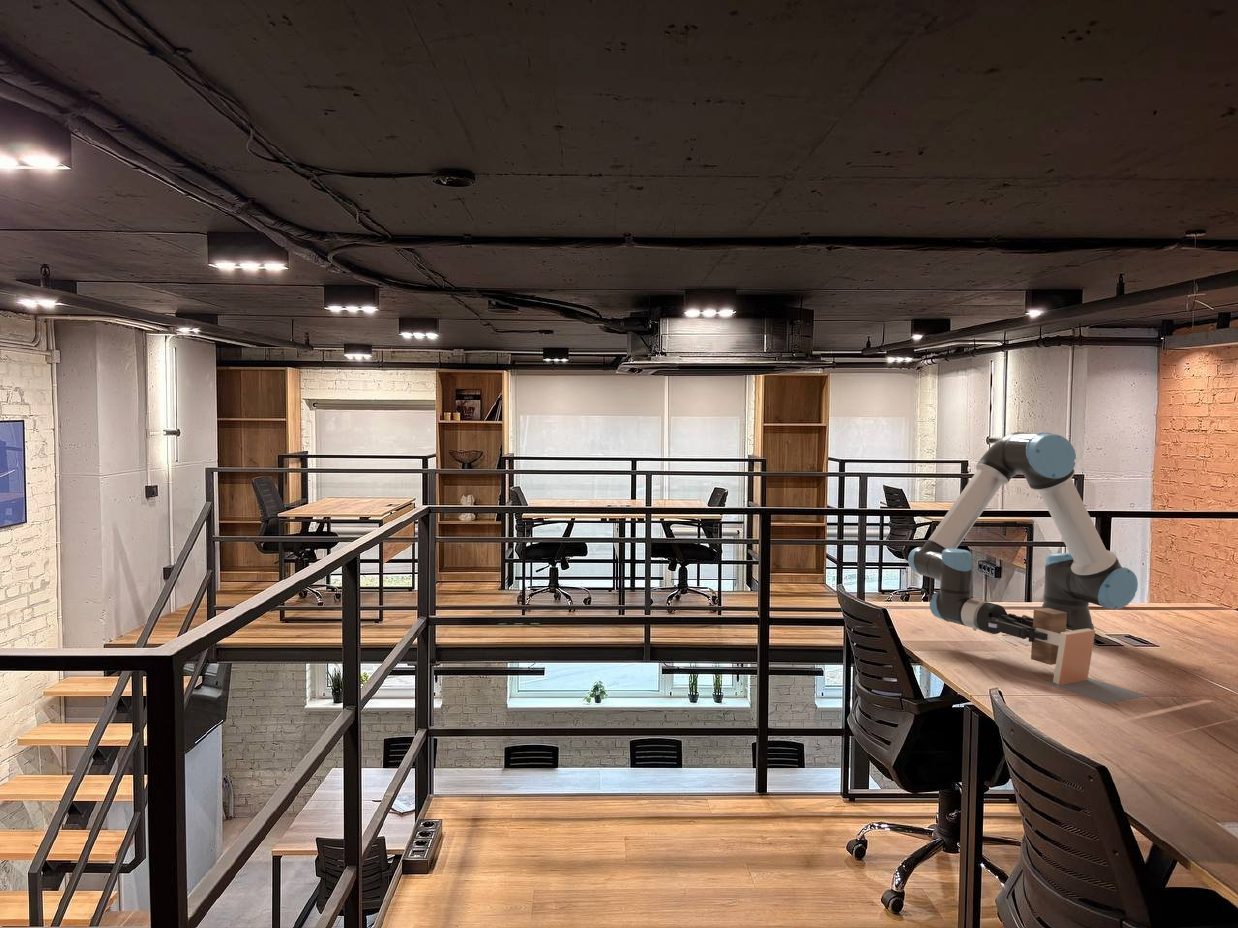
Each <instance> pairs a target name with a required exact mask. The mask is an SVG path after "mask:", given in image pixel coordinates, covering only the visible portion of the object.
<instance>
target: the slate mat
mask: <svg viewBox="0 0 1238 928" xmlns="http://www.w3.org/2000/svg"><path fill="white" fill-rule="evenodd" d="M1044 684H1045V685H1048V686H1051V687H1055V688H1058V689H1060V690H1064V691H1067V692H1070V693H1073V694H1075V695H1079V696H1082V697H1085V698H1089V699H1091V700H1095V701H1098V702H1101V703H1104V704H1108V705H1111V704H1114V703H1119V702H1125V701H1128V700H1129V701H1130V700H1133V699H1134V700H1135V699H1138V698H1142V697H1147V696H1148V695H1147V694H1143V693H1141V692H1137V691H1133V690H1130V689H1127V688H1124V687H1121V686H1117V685H1115V684H1114V685H1113V684H1110V683H1107V682H1104V681H1101V680H1097V679H1094V678H1091V677H1088V679H1087V680H1084V681H1079V682H1074V683H1068V684H1063V685H1058V684H1056V683H1054V682H1053V680H1051V681H1047V682H1044Z"/></svg>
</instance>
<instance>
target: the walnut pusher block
mask: <svg viewBox="0 0 1238 928" xmlns="http://www.w3.org/2000/svg"><path fill="white" fill-rule="evenodd" d="M1032 618H1033V628H1034V630H1035V631H1036V628H1040V629H1044V630H1048V631H1052V632H1056V633H1059V634H1061V632H1066V622H1067V612H1063V611H1059V610H1055V609H1051V608H1042V609H1041V608H1036V609H1035V608H1034V609H1033V617H1032ZM1058 647H1059V646H1057V645H1054V644H1050V643H1046V642H1043V641H1039V640H1036V639H1035V638H1034V642H1031V650H1030V651H1031V652H1030V654H1031V655H1030V659H1031V660H1033V661H1035V662H1039V663H1042V664H1046V665H1049V666H1051V665H1056V660H1057V654H1058Z"/></svg>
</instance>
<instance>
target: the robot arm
mask: <svg viewBox="0 0 1238 928" xmlns="http://www.w3.org/2000/svg"><path fill="white" fill-rule="evenodd" d="M1076 453H1077V452H1076V450H1075V447H1074V446H1073V445H1072V443H1071V441H1069V440H1068V439H1067V438H1066V437H1064V436H1062V435H1060V434H1056V433H1051V432H1038V433H1037V432H1021V431H1017V432H1011V433H1008V434H1006V435H1004V436H1003V437H1001V438H1000V439H998V440H997V441H996V442H995V443H994V444H992V446H990V448H989V449H988V450H986V452H984V454H983V455H982V457H981V458H980V459H979V461H978V462H977V463H976V465H975V468H976V469H975V470H976V472H974V474H973V476H972V477H971V478H970V480H969V481H968V483H967V484H966V485H965V487H964V489H962V491H961V493H960V494H959V495H958V497H957V498H956V500H955V501H954V503H953V504H952V505H951V506H950V508H949V509H948V511H947V512H946V514H945V515H944V517H943V518H942V519H941V521H940V522H939V524H938V525H937V526H936V528H935V529H934V531H933V532H932V534H931V535H930V537H929V538H928V539H927V541H925V544H924V545H923V546H918V547H915V548H914V549H912V550H911V551H910V552H909V555H908V556H907V557H908V558H907V563H908V565H909V567H910V569H911V570H912V571H913V572H915V573H918V574H919V575H921V576H923V577H928V578H932V579H934V580H937V581H940V583H939V585H940V588H939V590H938V591H936V592H934V593H933V594H932V596H931V599H930V600H929V610H930V612H931V614H932V615H933V616H934V617H935V618H938V619H940V620H944V621H945V622H947V623H948V622H949V623H954V624H956V625H960V626H961V625H962V626H964V627H968V628H972V630H973V631H982V632H983V633H984V632H985V633H989V634H992V635H998V634H1000V633H1001V634H1005V635H1008V636H1013V637H1016V638H1019V639H1022V640H1025V639H1028V642H1030V643H1032V642H1034V638H1035V639H1036V640H1039V641H1043V642H1046V643H1050V644H1054V645H1057V646H1059V641H1060V634H1059V633H1056V632H1052V631H1048V630H1044V629H1040V628H1036V631H1035V630H1034V628H1033V617H1030V616H1029V615H1024V614H1023V615H1022V616H1018V615H1016V614H1014V613H1007V611H1006V608H1005V607H1003V606H1002V605H1001V604H996V603H992V602H988V601H986V600H981V599H977V598H972V597H971V586H972V584H971V582H972V574H973V572H972V571H973V559H972V557H973V555H972V553H971V551H969V550H966V549H961V548H958V547H959V545H961V543H962V541H963V540H964V539H965V537H966V536H967V534H968V533H969V532H970V530H972V529H971V528H973V526H974V525H975V523H976V521H977V520H978V519H979V518H980V516H981V515H982V513H983V512H984V511H985V509H986V508H987V506H988V505H989V503H991V500H992V499H993V498H994V496H995V495H996V494H997V492H998V491H999V489H1000V488H1001V487H1002V486H1005V485H1007V484H1009V482H1010V481H1011V480H1012V479H1013V477H1015V476H1017V475H1021V476H1024V478H1025V479H1026V481H1027V484H1028V486H1029V487H1030V489H1031V490H1033V491H1038V492H1039V494H1040V496H1041V498H1042V500H1043V502H1044V505H1045V507H1046V508H1047V510H1048V513H1049V514H1050V516H1051V519H1052V520H1053V523H1054V524H1055V526H1056V528H1057V531H1058V532H1059V535H1060V537H1061V539H1062V541H1063V543H1064V545H1065V546H1066V549H1067V551H1068V552H1051V553H1049V554H1047V556H1046V561H1045V565H1044V589H1043V590H1044V591H1043V592H1044V593H1043V603H1042V606H1041V607H1040V609H1042V608H1051V609H1055V610H1059V611H1063V612H1067V622H1066V631H1073V630H1080V629H1087V628H1089V629H1092V630H1095V626H1094V623H1093V621H1092V616H1091V612H1090V609H1089V604H1094V605H1097V606H1099V607H1102V608H1105V609H1108V608H1109V609H1112V610H1116V609H1117V610H1118V609H1119V610H1120V609H1122V608H1124V607H1127V606H1129V604H1130V603H1131V602H1132V601H1133V600H1134V598H1135V597H1136V593H1137V591H1138V588H1139V583H1138V582H1139V581H1138V578H1137V575H1136V574H1135V572H1134V571H1133V570H1131V569H1130V568H1127V567H1123V566H1122V565H1121V563H1120V562H1119V559H1118V557H1117V555H1116V554H1115V553H1114V552H1113V551H1111V550H1108V549H1106V547H1105V545H1104V543H1103V540H1102V538H1101V536H1100V534H1099V532H1098V531H1097V529H1096V526H1095V524H1094V521H1093V520H1092V518H1091V516H1090V514H1089V512H1088V510H1087V508H1086V505H1085V504H1084V502H1083V500H1082V498H1081V495H1080V493H1079V492H1078V489H1077V488H1076V485H1075V484H1074V481H1073V476H1074V475H1075V465H1076V461H1075V460H1077V454H1076Z"/></svg>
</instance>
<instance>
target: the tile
mask: <svg viewBox="0 0 1238 928" xmlns="http://www.w3.org/2000/svg"><path fill="white" fill-rule="evenodd" d="M1095 635H1096V630H1095V629H1094V630H1092V629H1089V628H1087V629H1080V630H1073V631H1066V632H1061V634H1060V641H1059V647H1058V654H1057V660H1056V664H1055V666H1054V672H1053V673H1054V674H1053V680H1052V681H1053V682H1054V683H1056V684H1058V685H1063V684H1068V683H1074V682H1079V681H1084V680H1087V679H1088V678H1089V673H1090V666H1091V659H1092V654H1093V649H1094V642H1095V637H1096V636H1095Z"/></svg>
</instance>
